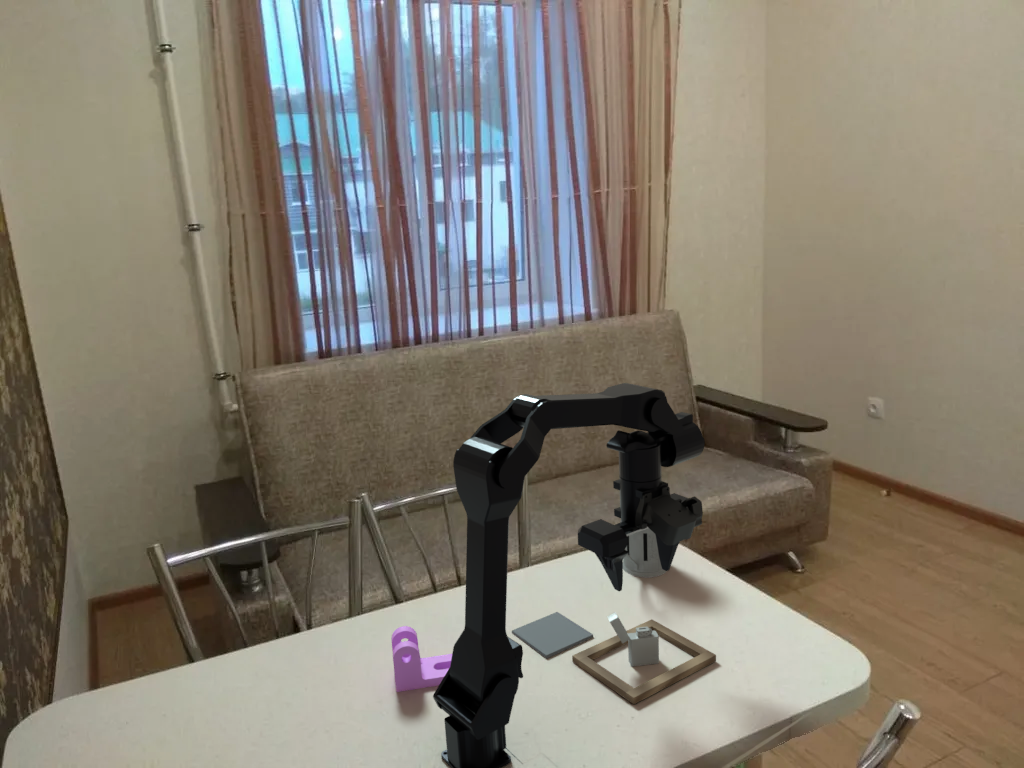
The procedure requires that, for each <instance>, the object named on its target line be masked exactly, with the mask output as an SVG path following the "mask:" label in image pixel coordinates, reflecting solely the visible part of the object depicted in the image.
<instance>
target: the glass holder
mask: <svg viewBox="0 0 1024 768" xmlns="http://www.w3.org/2000/svg"><path fill="white" fill-rule="evenodd" d="M619 523H621V519H620V521H619ZM627 537H628V545H627V546H626V548H625V550H626V551H628V552H629V553H628V554H627V555H626V556H625V557H624V558H623V572H625V573H627V574H628V575H630V576H634V577H638V578H645V579H646V578H656V577H660V576H663V575H664V574H666V573H667V572H668V571H665V570H663V569H662V567H661V563H660V559H659V553H658V547H657V541H656V535H655V533H654V532H653V531H651V530H650V529H649V528H648V529H645V530H642V531H640V532H637V533H634V534H632V535H629V536H627Z"/></svg>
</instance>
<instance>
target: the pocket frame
mask: <svg viewBox="0 0 1024 768" xmlns="http://www.w3.org/2000/svg"><path fill="white" fill-rule="evenodd" d="M638 627H648V628H650V629H652V631H656V632H657V634H658V636H659V638H660V637H661V638H662V639H664V640H666V641H667V642H668V643H670V644H672V645H674V647H675V646H676V647H677V648H679V649H681V650H682V651H684V652H685V653H687V654H689V655H691V656H692V658H690V659H688V660H687V661H685V662H683V663H680V664H679V665H677V666H675V667H673V668H671V669H669V670H667V671H665V672H663V673H661V674H659V675H657V676H655V677H654V678H651V679H649V680H648V681H646V682H644V683H641V684H640V685H638V686H635V687H633V686H632V685H630V684H629V683H627V682H626V681H624V680H623V679H621V678H620V677H618V676H617V675H616V674H614V673H612V672H611V671H609V670H608V669H606V668H605V667H603V666H602V665H601V664H599V663H597V662H596V661H595V659H598V658H599V657H602V656H604V655H606V654H608V653H610V652H612V651H614V650H616V649H618V648H620V647H623V646H625V645H628V641H626V642H625V643H623V644H622V642H621V640H620V639H619V637H618V635H617V634H616V635H614V636H612V637H610V638H608V639H605V640H603V641H601V642H599V643H597V644H594V645H593V646H589V647H588V648H586V649H584V650H582V651H579V652H577V653H575V654H573V655H572V660H571V661H572V663H574V664H575V665H576V666H578V667H579V668H581V669H582V670H584V671H585V672H586V673H588V674H589V675H591V676H592V677H594V678H595V679H596V680H598V681H600V682H601V683H602V684H604V685H605V686H607V687H608V688H609V689H611V690H613V691H614V692H615V693H617V694H619V696H621V697H623V699H625V700H627V701H628V702H629V703H631V704H632V705H636V704H637V703H639V702H641V701H643V700H645V699H647V698H649V697H651V696H652V695H655V694H656V693H658V692H660V691H662V690H664V689H666V688H668V687H671V686H672V685H673V684H675V683H678V682H679V681H682V680H683V679H685V678H686V677H689V676H690V675H693V674H695V673H696V672H698V671H700V670H702V669H704V668H706V667H708V666H710V665H711V664H713V663H715V662H717V654H715V653H713V652H712V651H709V650H708V649H706V648H705V647H703V646H700V645H699V644H697V643H695V642H694V641H692V640H690V639H688V638H687V637H685V636H683V635H681V634H680V633H678V632H676V631H674V630H672V629H670V628H669V627H667V626H665V625H663V624H662V623H659V622H658V621H656V620H654V619H652V618H651V619H649V620H647V621H646V622H645V621H644V622H642V623H641V624H638V625H636V626H634V627H632V628H629V629H628V630H627V629H626V631H627V633H628V634H629V633H636V628H638Z"/></svg>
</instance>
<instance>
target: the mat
mask: <svg viewBox="0 0 1024 768" xmlns="http://www.w3.org/2000/svg"><path fill="white" fill-rule="evenodd" d="M511 633H512V634H513V635H515V637H517V638H518V639H520V640H521V641H522V642H524V643H525V644H526V645H527V646H528V647H530V648H532V649H533V650H534V651H536V652H537V653H539V655H540V656H541V657H544V658H545V659H548V658H551V657H554V656H555V655H557V654H560V653H562V652H564V651H566V650H569V649H570V648H573V647H576V646H577V645H579V644H582V643H583V642H587V641H588V640H590V639H592V638H594V634H593V633H591V632H590V631H588V630H587V629H585V628H584V627H582V626H581V625H579V624H577V623H576V622H574V621H573V620H571V619H570V618H568V617H566V616H565V615H563V614H562V613H560V612H558V611H556V612H553V613H551V614H549V615H545V616H543V617H541V618H539V619H536V620H534V621H532V622H529V623H526V624H524V625H522V626H519V627H517V628H514V629H512V630H511Z"/></svg>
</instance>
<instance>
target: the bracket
mask: <svg viewBox="0 0 1024 768" xmlns="http://www.w3.org/2000/svg"><path fill="white" fill-rule="evenodd" d="M403 639H405V641H404V640H403ZM406 639H407V640H406ZM402 640H403V641H402ZM391 648H392V649H391V650H392V661H393V663H392V664H393V671H394V683H395V692H396V693H399V692H404V691H405V692H406V691H412V690H418V689H424V688H430V687H436V686H437V687H438V686H439V685H440V683H441V681H442V680H443V678H444V676H445V675H446V673H447V671H448V670H449V668H450V665H451V659H452V653H448V654H447V653H446V654H442V655H434V656H428V657H427V656H426V657H421V653H420V649H419V640H418V634H417V631H416V629H415V628H412V627H411V626H408V625H403V626H398V627H397V628H396V629H395V630H394V631H393V632H392V634H391Z"/></svg>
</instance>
